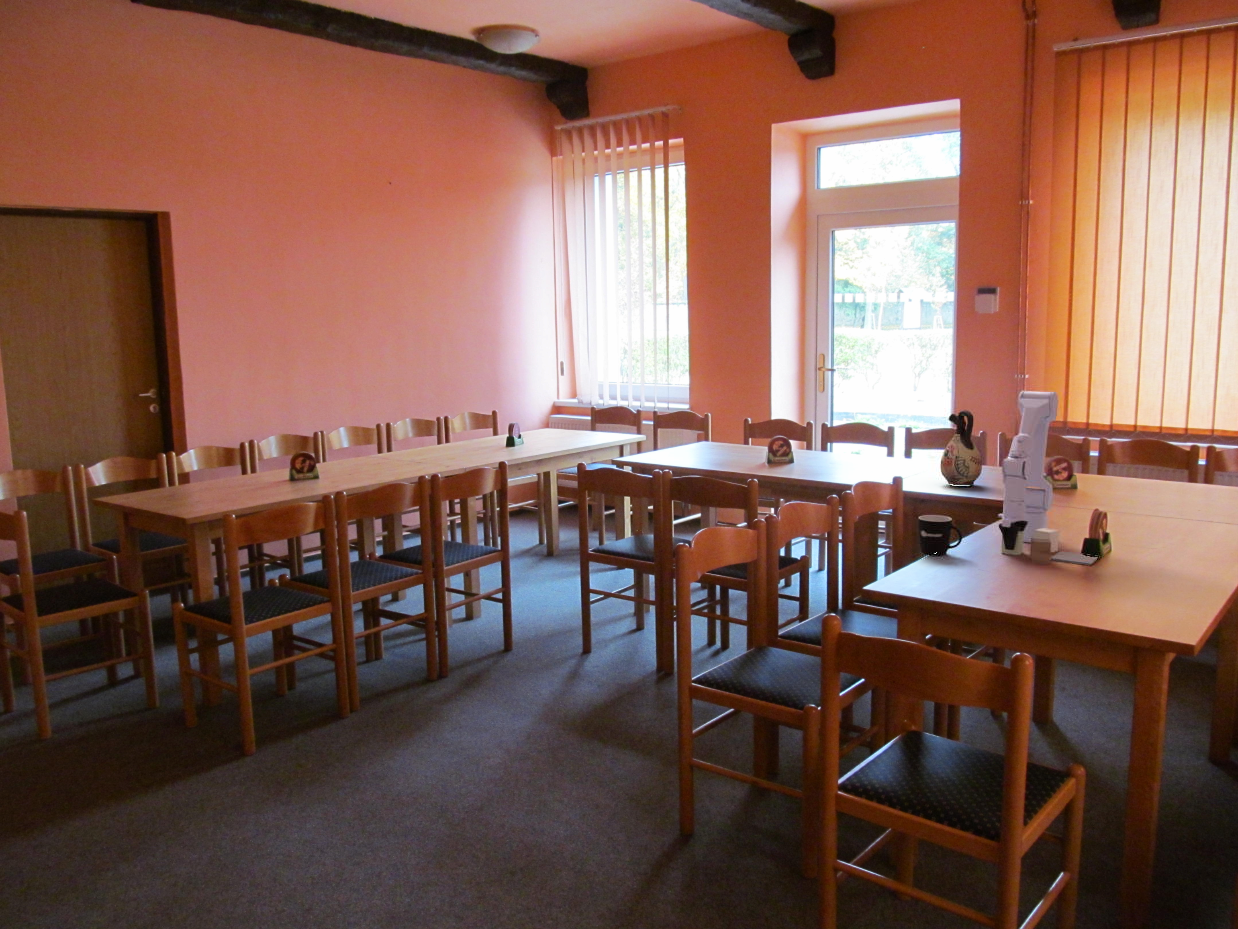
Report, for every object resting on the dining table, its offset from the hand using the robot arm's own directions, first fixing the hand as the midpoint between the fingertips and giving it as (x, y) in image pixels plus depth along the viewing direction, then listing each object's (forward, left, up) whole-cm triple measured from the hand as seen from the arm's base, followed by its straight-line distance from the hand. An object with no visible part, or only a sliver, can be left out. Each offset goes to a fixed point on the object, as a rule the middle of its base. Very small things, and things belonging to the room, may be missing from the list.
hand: (1012, 547), depth 276 cm
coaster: (-2, +16, -1) cm, 16 cm away
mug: (+13, -16, -2) cm, 21 cm away
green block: (0, 0, -1) cm, 1 cm away
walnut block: (+6, +9, -2) cm, 11 cm away
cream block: (-8, +7, -2) cm, 11 cm away
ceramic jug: (-101, -48, -2) cm, 112 cm away
